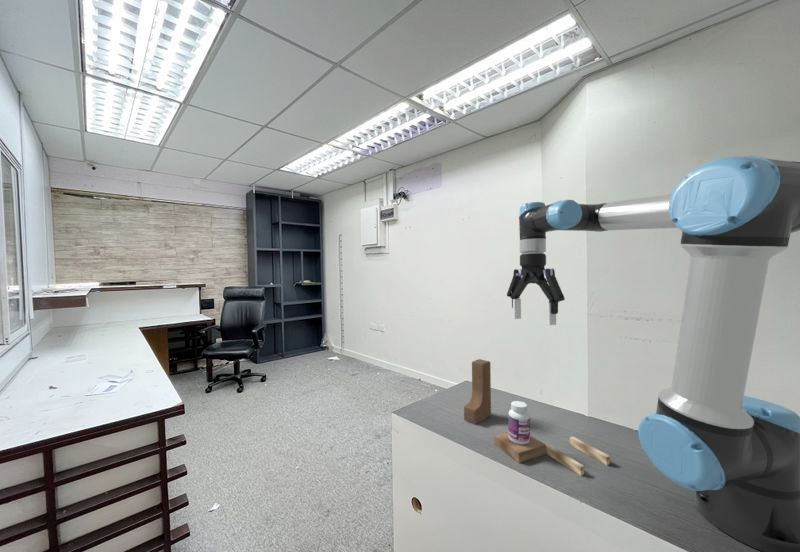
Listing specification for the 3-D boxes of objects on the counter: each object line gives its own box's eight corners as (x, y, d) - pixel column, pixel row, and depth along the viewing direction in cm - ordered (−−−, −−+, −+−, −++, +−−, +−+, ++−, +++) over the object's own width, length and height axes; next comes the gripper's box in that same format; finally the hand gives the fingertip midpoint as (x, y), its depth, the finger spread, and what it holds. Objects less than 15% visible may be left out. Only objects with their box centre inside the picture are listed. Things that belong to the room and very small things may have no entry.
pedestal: (545, 454, 79) (545, 444, 79) (519, 463, 76) (519, 453, 76) (519, 437, 88) (519, 428, 88) (494, 444, 84) (494, 435, 84)
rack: (609, 464, 75) (609, 456, 75) (580, 475, 71) (580, 467, 71) (572, 443, 84) (572, 436, 84) (544, 452, 80) (544, 445, 80)
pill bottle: (521, 447, 78) (521, 410, 78) (504, 438, 82) (504, 402, 82) (534, 441, 81) (534, 404, 81) (517, 432, 85) (516, 398, 85)
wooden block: (475, 425, 95) (474, 367, 95) (463, 419, 98) (462, 364, 98) (491, 415, 101) (490, 361, 101) (479, 411, 104) (479, 358, 104)
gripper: (578, 250, 85) (578, 326, 86) (512, 255, 108) (513, 315, 109) (559, 250, 82) (559, 329, 83) (495, 255, 105) (496, 317, 106)
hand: (533, 321), depth 96 cm, fingers open, 13 cm apart
